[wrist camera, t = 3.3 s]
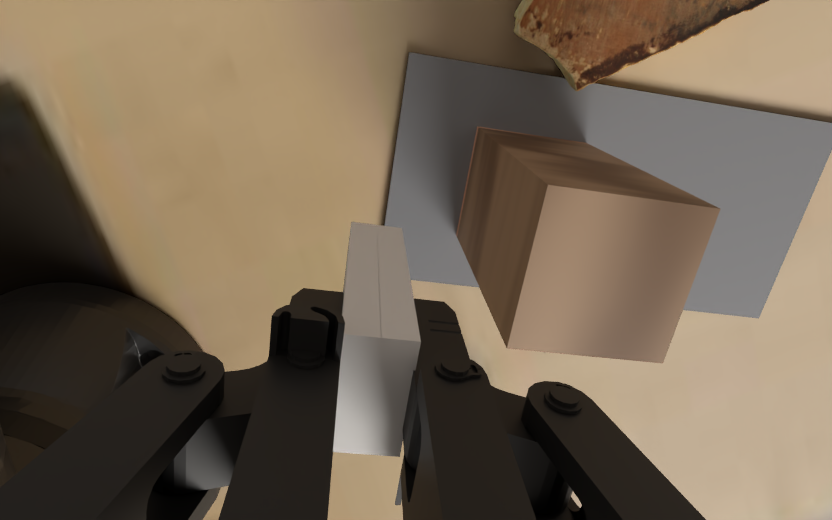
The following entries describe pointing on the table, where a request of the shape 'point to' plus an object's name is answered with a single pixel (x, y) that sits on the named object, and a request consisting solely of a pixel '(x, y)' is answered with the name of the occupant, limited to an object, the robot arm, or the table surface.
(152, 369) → the robot arm
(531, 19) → the shard
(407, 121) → the grey mat
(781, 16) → the table surface
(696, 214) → the light brown wooden block
